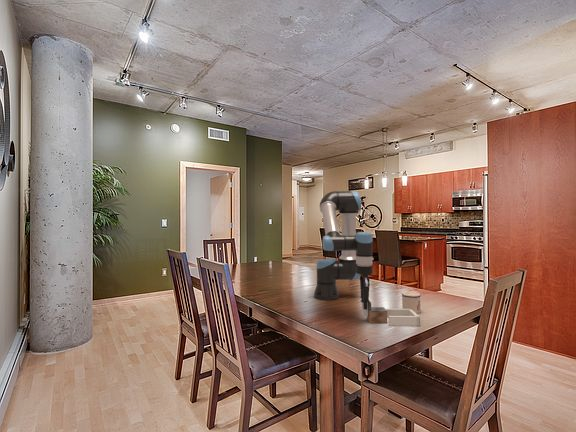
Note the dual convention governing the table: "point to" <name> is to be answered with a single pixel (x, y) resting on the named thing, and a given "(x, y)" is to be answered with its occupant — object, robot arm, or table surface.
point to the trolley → (376, 314)
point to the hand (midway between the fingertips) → (364, 315)
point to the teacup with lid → (411, 300)
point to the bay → (403, 317)
